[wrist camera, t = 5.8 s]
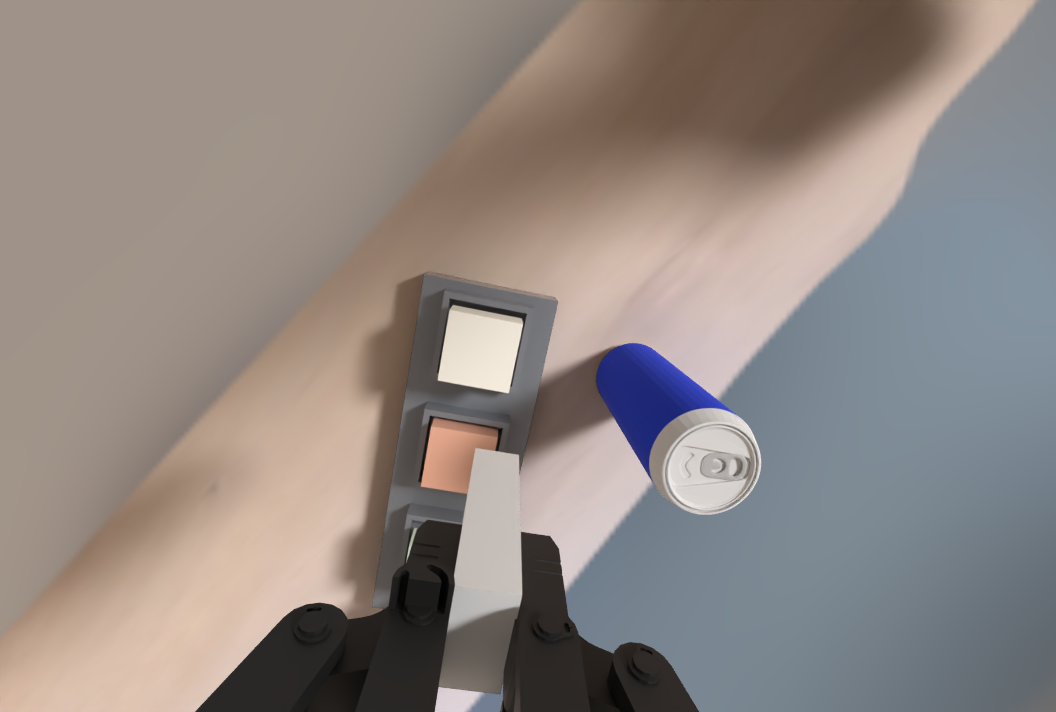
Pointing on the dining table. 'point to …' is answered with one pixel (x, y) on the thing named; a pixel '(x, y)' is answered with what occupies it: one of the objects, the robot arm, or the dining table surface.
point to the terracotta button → (454, 453)
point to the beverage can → (679, 431)
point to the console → (456, 406)
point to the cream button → (480, 349)
